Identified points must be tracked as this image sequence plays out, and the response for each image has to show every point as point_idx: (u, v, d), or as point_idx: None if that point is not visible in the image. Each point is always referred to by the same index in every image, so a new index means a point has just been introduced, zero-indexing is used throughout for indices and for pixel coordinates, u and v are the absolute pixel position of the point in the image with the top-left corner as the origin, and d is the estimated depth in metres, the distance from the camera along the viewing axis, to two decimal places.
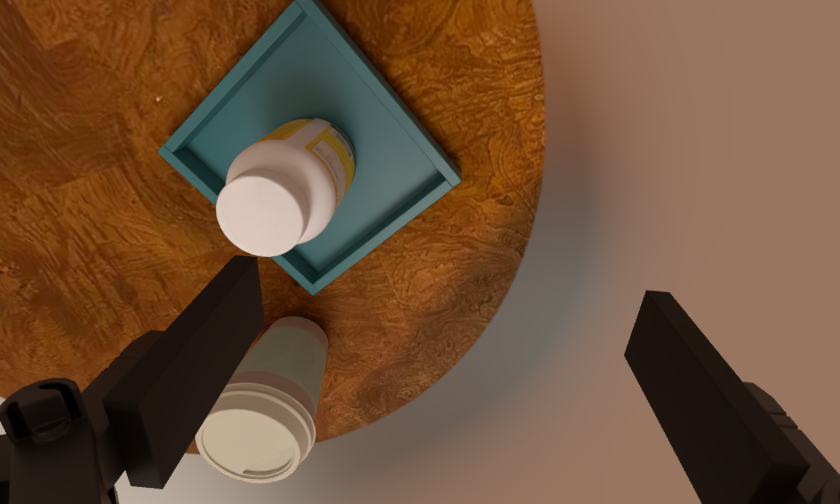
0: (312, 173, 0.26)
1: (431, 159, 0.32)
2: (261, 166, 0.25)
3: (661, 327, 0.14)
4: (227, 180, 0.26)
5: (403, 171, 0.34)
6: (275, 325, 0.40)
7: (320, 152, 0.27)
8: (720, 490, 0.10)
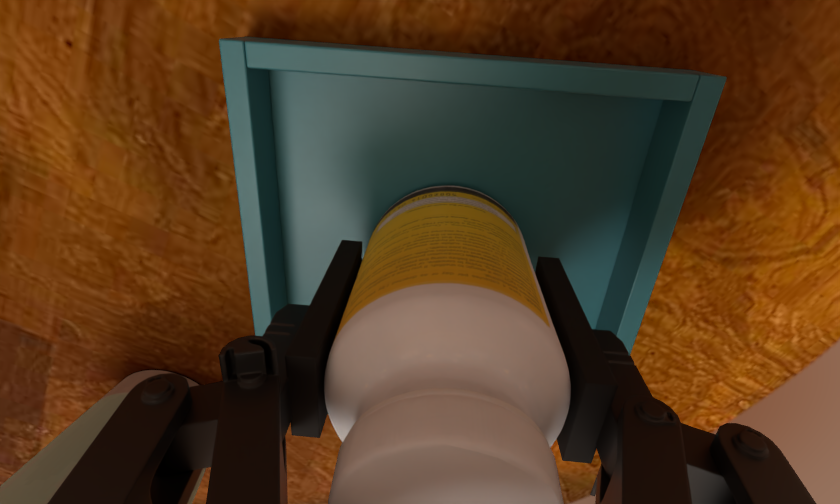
0: (555, 433, 0.11)
1: None
2: (503, 378, 0.10)
3: (543, 286, 0.15)
4: (395, 325, 0.10)
5: None
6: None
7: None
8: None
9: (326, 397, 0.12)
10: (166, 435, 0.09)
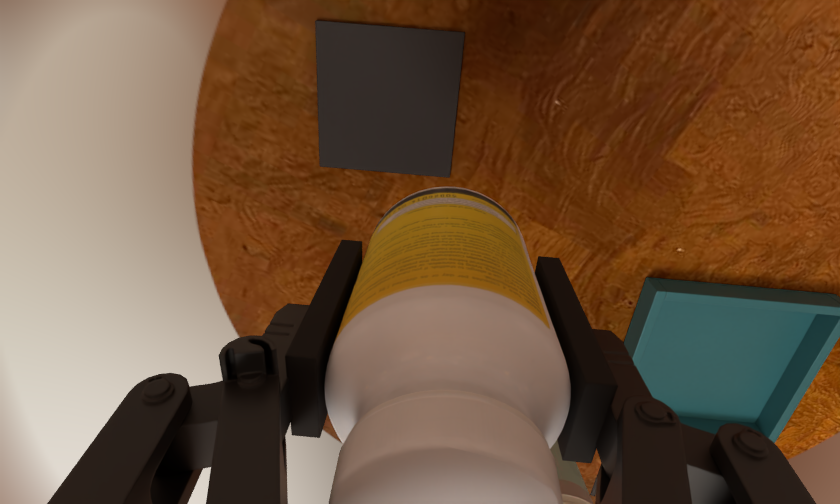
0: (556, 435, 0.11)
1: (777, 426, 0.42)
2: (503, 380, 0.10)
3: (544, 286, 0.15)
4: (396, 327, 0.10)
5: (737, 405, 0.43)
6: None
7: None
8: None
9: (327, 398, 0.12)
10: (166, 435, 0.09)
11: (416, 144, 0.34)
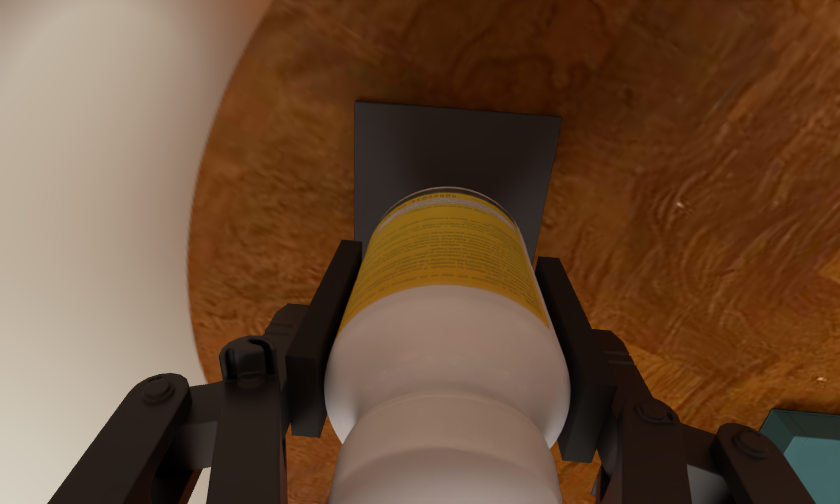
0: (555, 435, 0.11)
1: None
2: (503, 380, 0.10)
3: (544, 286, 0.15)
4: (395, 327, 0.10)
5: None
6: None
7: None
8: None
9: (326, 398, 0.12)
10: (166, 435, 0.09)
11: None
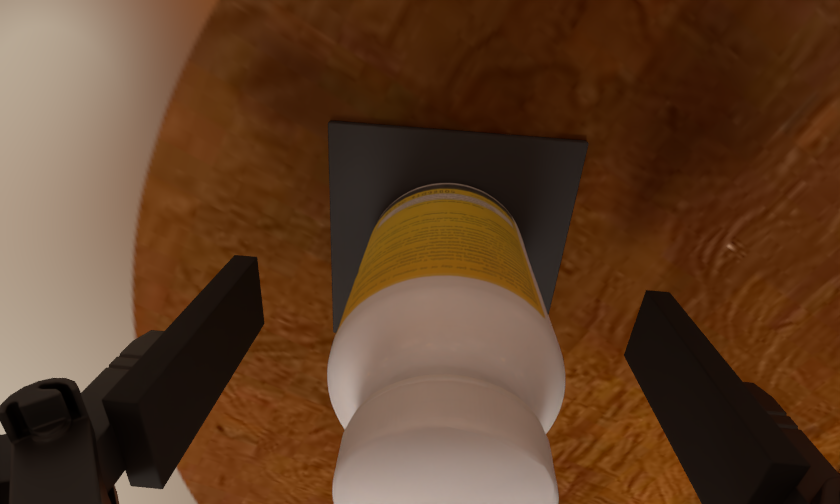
0: (550, 420, 0.12)
1: None
2: (500, 366, 0.10)
3: (662, 327, 0.14)
4: (396, 315, 0.11)
5: None
6: None
7: None
8: (720, 490, 0.10)
9: (329, 386, 0.12)
10: None
11: None
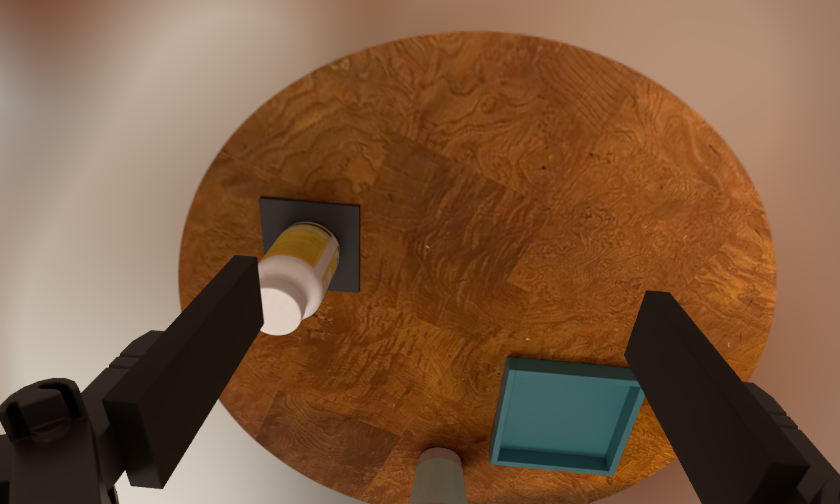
0: (315, 299, 0.39)
1: (613, 461, 0.56)
2: (293, 279, 0.38)
3: (662, 326, 0.14)
4: (265, 266, 0.38)
5: (588, 444, 0.58)
6: (447, 456, 0.58)
7: (326, 282, 0.41)
8: (720, 490, 0.10)
9: None
10: None
11: None
